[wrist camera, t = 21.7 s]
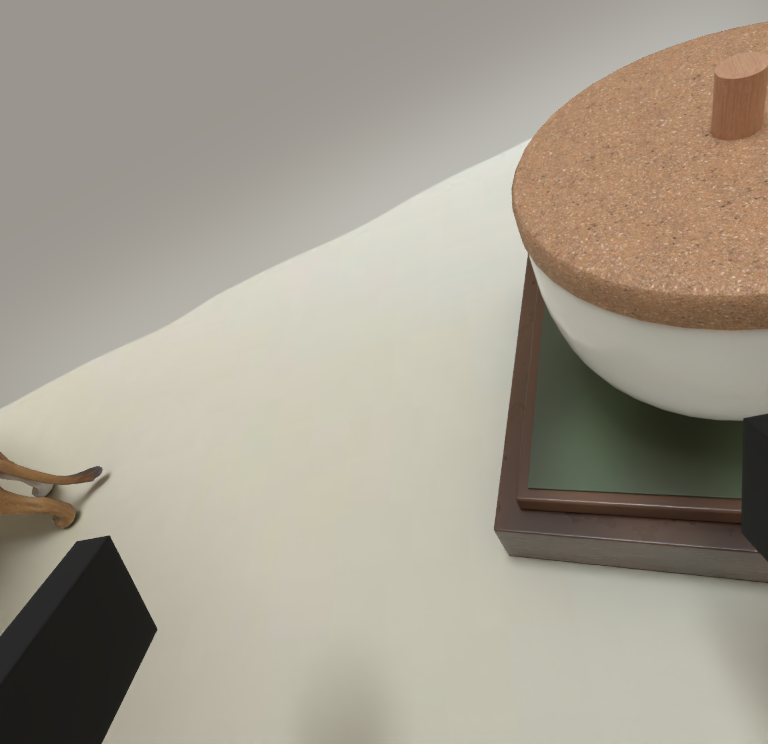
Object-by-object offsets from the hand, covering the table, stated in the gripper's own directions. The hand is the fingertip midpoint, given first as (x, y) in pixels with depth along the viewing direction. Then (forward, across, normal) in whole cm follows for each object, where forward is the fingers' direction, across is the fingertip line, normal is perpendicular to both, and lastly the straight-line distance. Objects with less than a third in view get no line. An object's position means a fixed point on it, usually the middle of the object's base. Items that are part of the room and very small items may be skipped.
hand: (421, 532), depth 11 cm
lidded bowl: (+8, +10, -1) cm, 14 cm away
